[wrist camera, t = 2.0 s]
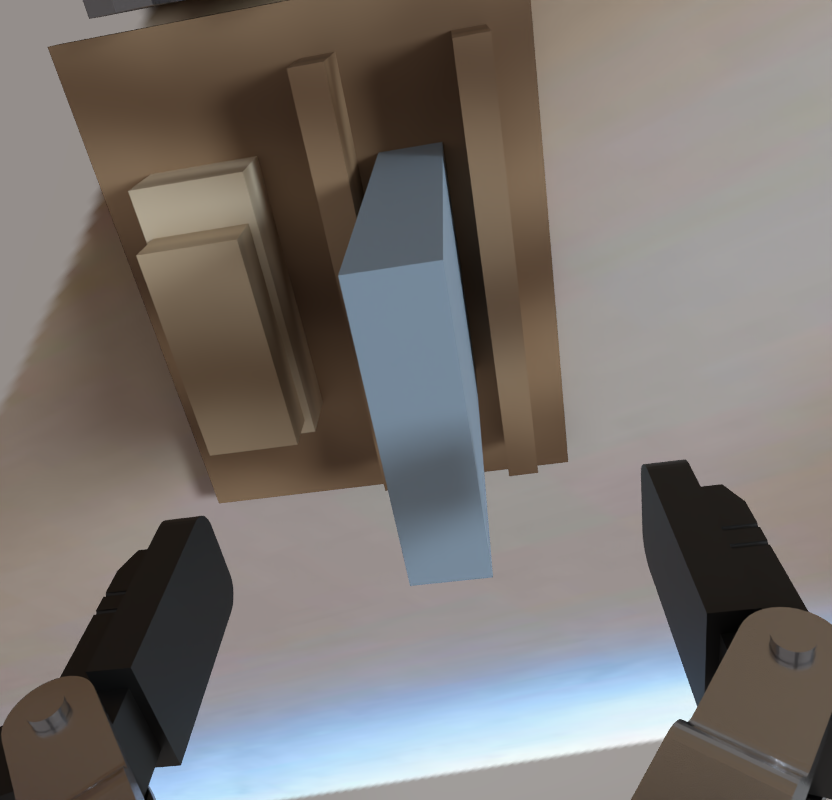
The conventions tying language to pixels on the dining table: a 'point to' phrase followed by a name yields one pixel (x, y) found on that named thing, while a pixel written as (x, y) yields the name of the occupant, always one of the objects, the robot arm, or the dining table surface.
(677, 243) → the dining table surface
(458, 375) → the tall sheet
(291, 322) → the offcut stack
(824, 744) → the robot arm
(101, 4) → the stand
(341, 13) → the offcut rack
